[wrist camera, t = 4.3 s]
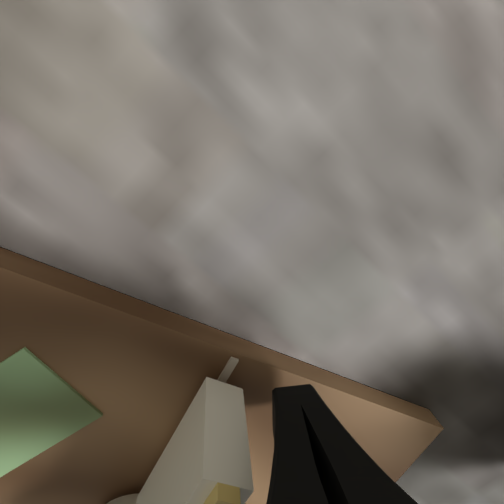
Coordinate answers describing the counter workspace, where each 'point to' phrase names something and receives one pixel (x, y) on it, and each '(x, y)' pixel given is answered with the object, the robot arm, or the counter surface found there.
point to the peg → (203, 454)
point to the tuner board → (146, 391)
